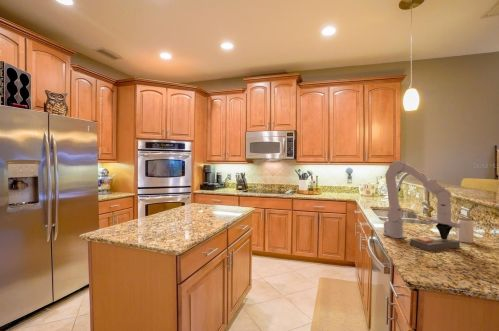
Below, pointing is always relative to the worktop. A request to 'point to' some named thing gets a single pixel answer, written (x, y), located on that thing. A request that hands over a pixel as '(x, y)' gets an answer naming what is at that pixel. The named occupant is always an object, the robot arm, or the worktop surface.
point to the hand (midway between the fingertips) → (444, 238)
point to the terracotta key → (424, 240)
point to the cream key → (434, 239)
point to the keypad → (435, 244)
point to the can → (465, 230)
